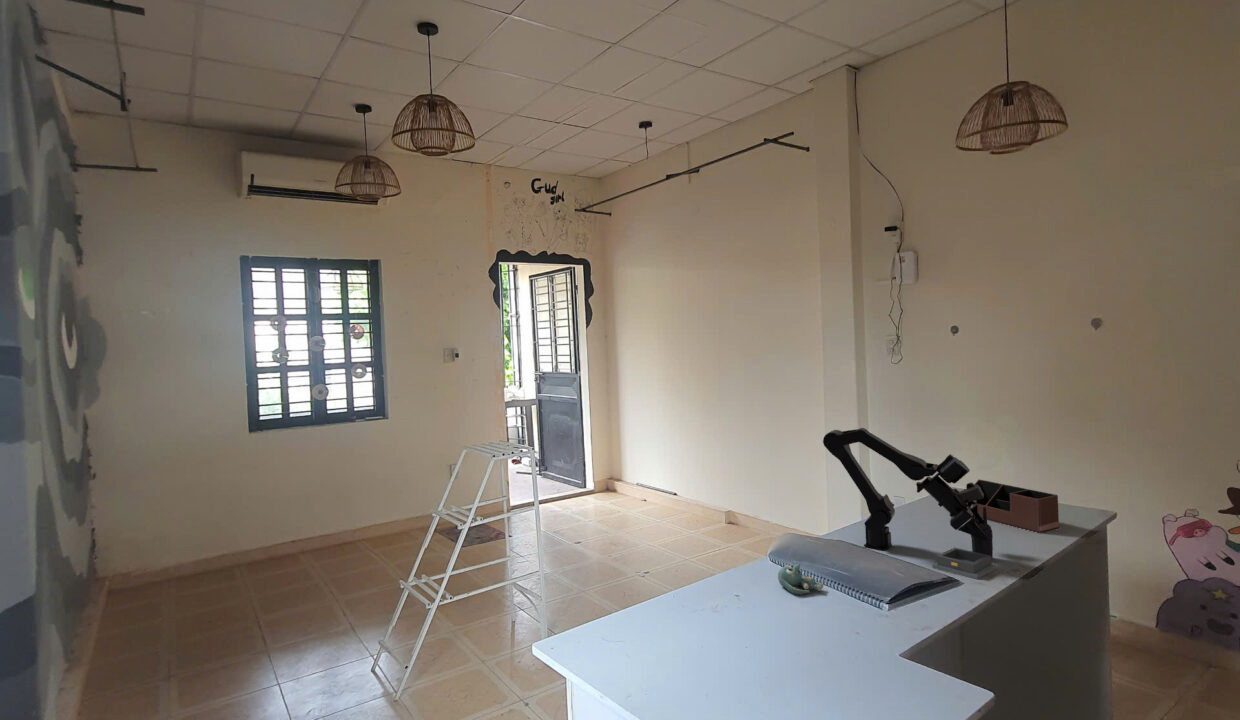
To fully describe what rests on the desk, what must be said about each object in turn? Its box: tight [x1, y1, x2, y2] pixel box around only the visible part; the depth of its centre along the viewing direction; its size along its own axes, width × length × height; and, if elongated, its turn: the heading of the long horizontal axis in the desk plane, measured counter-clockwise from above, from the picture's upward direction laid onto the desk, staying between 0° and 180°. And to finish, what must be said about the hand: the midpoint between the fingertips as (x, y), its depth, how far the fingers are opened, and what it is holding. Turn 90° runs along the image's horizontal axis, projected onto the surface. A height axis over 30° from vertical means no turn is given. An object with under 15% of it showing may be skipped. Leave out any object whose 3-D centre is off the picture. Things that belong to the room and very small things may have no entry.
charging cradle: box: [932, 547, 997, 580], centre depth 177 cm, size 12×11×4 cm
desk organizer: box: [972, 478, 1061, 535], centre depth 217 cm, size 10×29×11 cm, turn 23°
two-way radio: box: [970, 507, 994, 560], centre depth 183 cm, size 6×4×15 cm
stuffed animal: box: [777, 563, 824, 596], centre depth 169 cm, size 11×7×12 cm
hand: (987, 534), depth 182 cm, fingers open, 9 cm apart
